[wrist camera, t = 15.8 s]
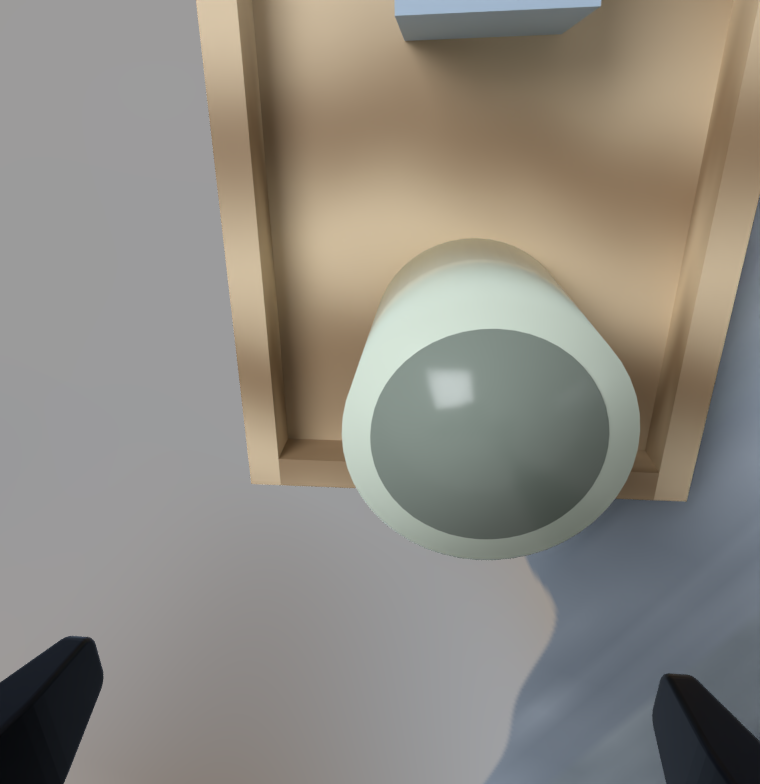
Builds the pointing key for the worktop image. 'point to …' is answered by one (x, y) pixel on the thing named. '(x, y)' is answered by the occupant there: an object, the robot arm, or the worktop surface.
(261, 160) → the tray
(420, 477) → the cup
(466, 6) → the block
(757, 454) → the worktop surface
